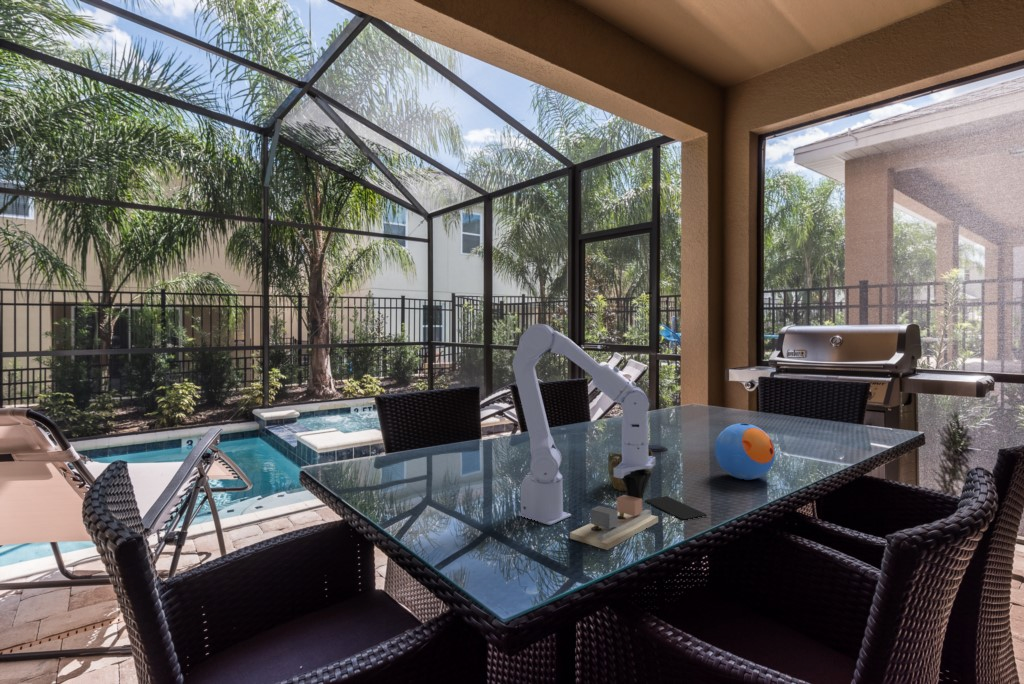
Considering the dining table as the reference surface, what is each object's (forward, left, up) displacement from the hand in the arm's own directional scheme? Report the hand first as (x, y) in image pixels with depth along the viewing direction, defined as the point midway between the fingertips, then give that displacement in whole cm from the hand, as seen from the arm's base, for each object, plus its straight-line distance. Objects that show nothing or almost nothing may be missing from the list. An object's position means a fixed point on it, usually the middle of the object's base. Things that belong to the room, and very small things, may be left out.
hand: (635, 503), depth 120 cm
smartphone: (+3, +13, -4) cm, 14 cm away
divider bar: (+2, -7, -3) cm, 8 cm away
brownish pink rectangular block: (0, -3, -2) cm, 4 cm away
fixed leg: (0, -12, -2) cm, 13 cm away
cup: (-15, +23, -4) cm, 28 cm away
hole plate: (0, -7, -4) cm, 8 cm away
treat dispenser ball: (+6, +49, -4) cm, 50 cm away
